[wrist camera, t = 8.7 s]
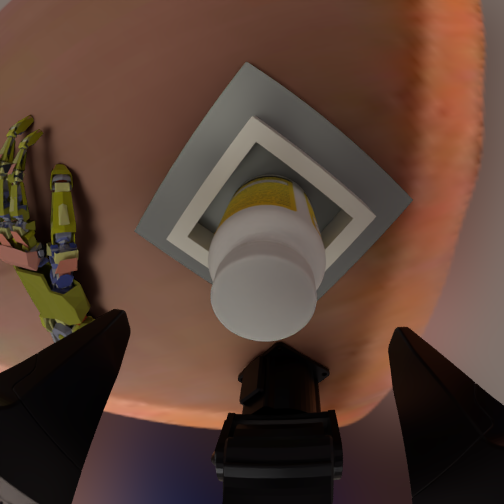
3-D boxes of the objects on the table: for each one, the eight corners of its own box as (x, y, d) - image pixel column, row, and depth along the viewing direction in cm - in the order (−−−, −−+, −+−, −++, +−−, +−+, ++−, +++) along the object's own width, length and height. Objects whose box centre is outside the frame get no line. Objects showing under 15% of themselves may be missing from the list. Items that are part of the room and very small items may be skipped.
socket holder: (407, 195, 19) (428, 212, 16) (285, 322, 25) (285, 352, 22) (247, 64, 17) (241, 54, 13) (139, 226, 22) (119, 245, 19)
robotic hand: (52, 355, 29) (-52, 158, 14) (83, 314, 35) (5, 126, 20) (126, 388, 26) (-3, 130, 11) (157, 335, 32) (78, 96, 17)
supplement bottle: (213, 216, 20) (165, 302, 12) (266, 155, 18) (255, 200, 10) (273, 265, 22) (268, 371, 13) (329, 211, 20) (366, 297, 11)
